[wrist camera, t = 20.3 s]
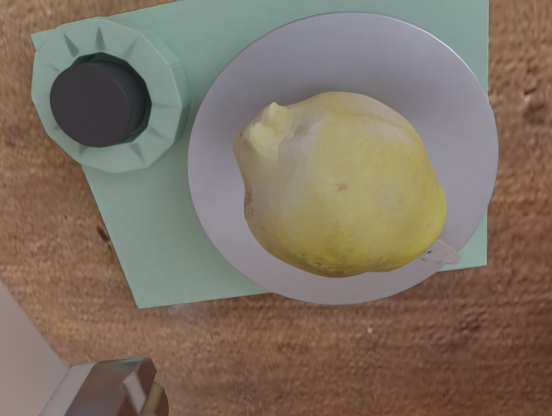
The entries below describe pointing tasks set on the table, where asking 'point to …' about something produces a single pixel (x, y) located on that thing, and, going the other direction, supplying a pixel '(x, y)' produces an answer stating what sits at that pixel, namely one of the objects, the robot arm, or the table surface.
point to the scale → (181, 114)
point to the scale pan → (354, 79)
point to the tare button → (97, 103)
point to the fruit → (341, 187)
